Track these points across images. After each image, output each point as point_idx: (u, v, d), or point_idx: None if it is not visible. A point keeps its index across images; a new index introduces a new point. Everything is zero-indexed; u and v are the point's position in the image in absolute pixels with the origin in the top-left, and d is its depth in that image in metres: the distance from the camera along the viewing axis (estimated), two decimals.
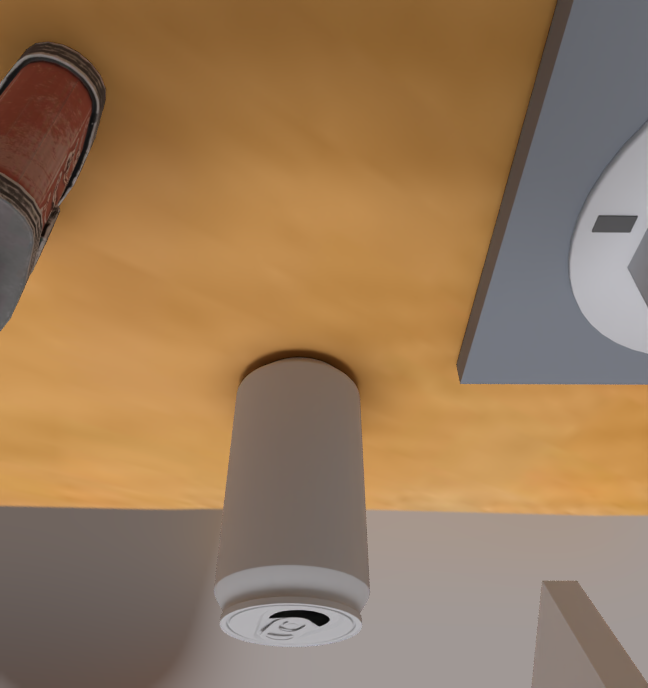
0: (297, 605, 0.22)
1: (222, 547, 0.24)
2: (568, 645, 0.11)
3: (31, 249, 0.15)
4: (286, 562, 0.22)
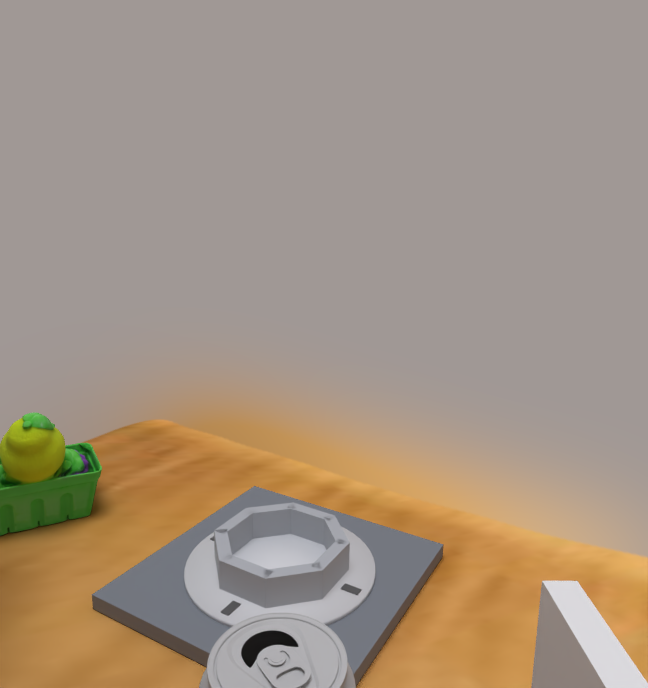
0: (233, 632, 0.26)
1: None
2: (568, 645, 0.11)
3: None
4: None
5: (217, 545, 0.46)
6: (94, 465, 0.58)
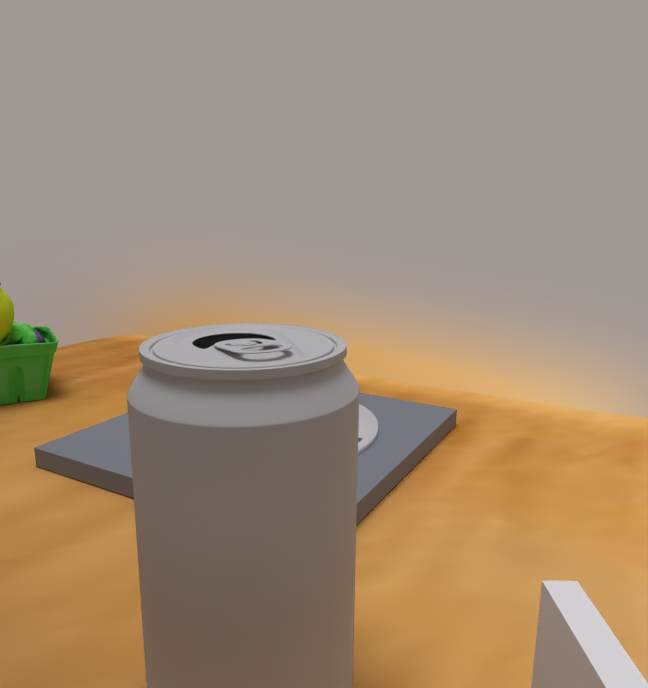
0: (184, 332, 0.18)
1: (135, 456, 0.15)
2: (568, 645, 0.11)
3: None
4: None
5: None
6: (51, 343, 0.50)
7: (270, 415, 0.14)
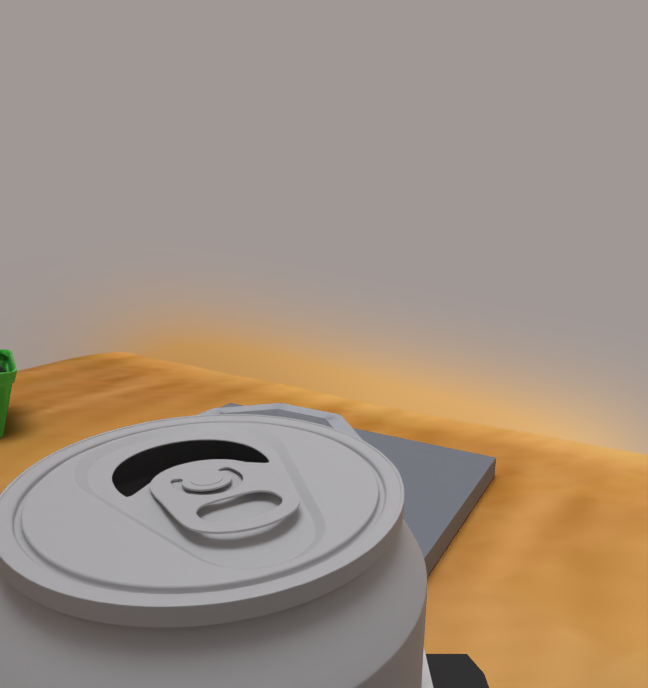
0: (107, 440, 0.10)
1: None
2: None
3: None
4: None
5: None
6: (10, 371, 0.43)
7: None
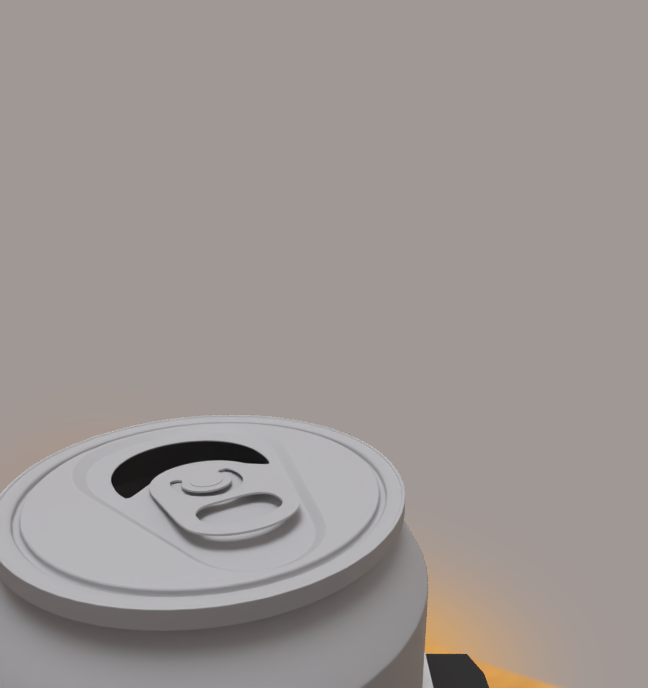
0: (106, 441, 0.10)
1: None
2: None
3: None
4: None
5: None
6: None
7: None
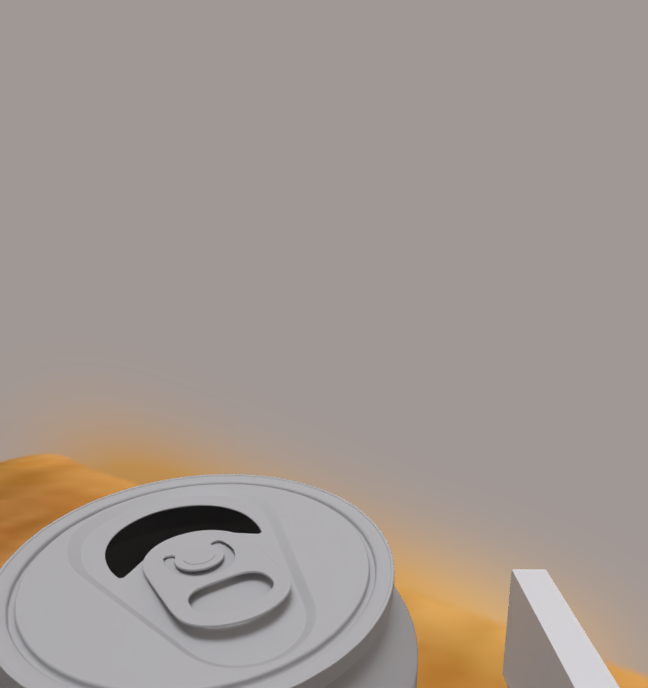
0: (100, 508, 0.10)
1: None
2: (533, 630, 0.12)
3: None
4: None
5: None
6: None
7: None
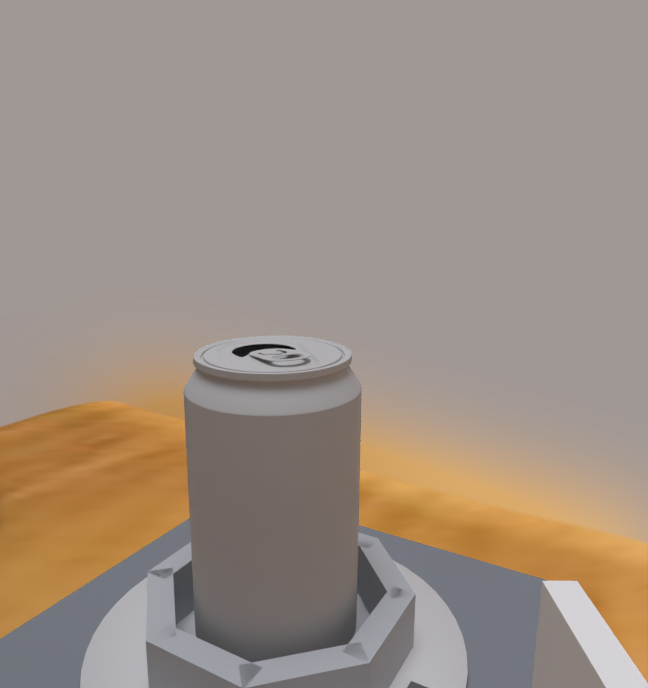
0: (223, 343, 0.23)
1: (192, 439, 0.20)
2: (568, 645, 0.11)
3: None
4: None
5: (148, 605, 0.22)
6: None
7: (295, 407, 0.19)
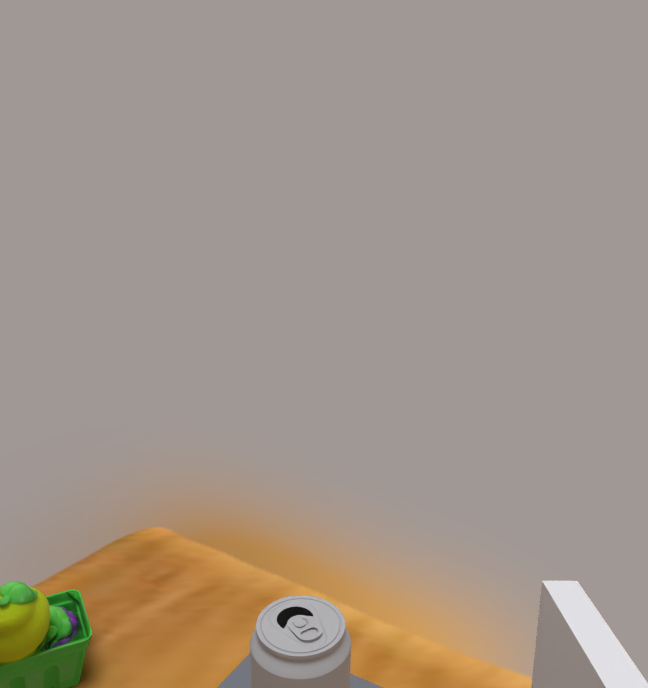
0: (270, 608, 0.39)
1: (256, 680, 0.37)
2: (568, 645, 0.11)
3: None
4: None
5: None
6: (84, 624, 0.51)
7: (314, 673, 0.35)
